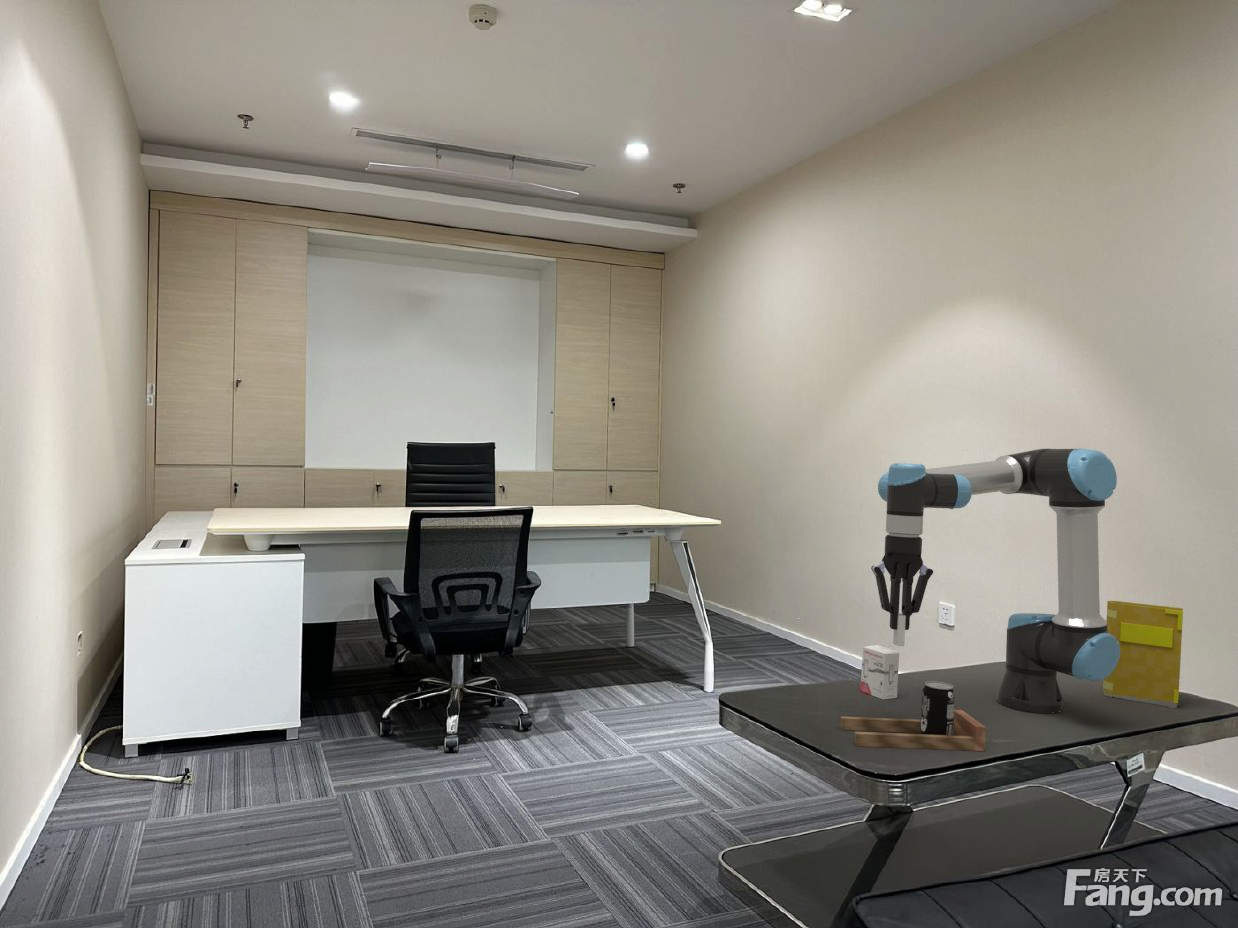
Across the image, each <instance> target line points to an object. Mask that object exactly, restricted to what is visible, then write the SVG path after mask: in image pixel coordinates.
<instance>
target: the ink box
mask: <svg viewBox="0 0 1238 928" xmlns="http://www.w3.org/2000/svg"><path fill="white" fill-rule="evenodd" d="M861 657H862V660H861V674H860V692H863V693H864V694H867V695H870V696H872V697H875V698H878V699H881V700H891V699H897V697H898V683H899V682H898V681H899V667H900V666H899V664H900V661H899V660H900V652H899V651H897V650H895V649H891V648H889V647H885V646H882V645H878V644H874V645H868V646H867V645H866V646H863V647H862V656H861Z"/></svg>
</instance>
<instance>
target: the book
mask: <svg viewBox="0 0 1238 928" xmlns="http://www.w3.org/2000/svg"><path fill="white" fill-rule="evenodd" d="M1183 619H1184V610H1183V607H1175V606H1165V605H1155V604H1148V603H1146V604H1145V603H1137V602H1129V601H1122V600H1121V601H1120V600H1119V601H1118V600H1107V605H1106V621H1107V630H1108V633H1109V634H1111V635H1112V636H1114V637H1115V638H1116V641H1118V643H1119V646H1120V657H1119V661H1118V663H1117V666H1116V667H1115V669H1114V670H1113V671H1112V673H1111V674H1110V675H1109V676H1108V677H1106V678H1105V679H1103V680H1102V681H1103V683H1102V692H1103V691H1104V692H1105V693H1109V694H1112V695H1119V696H1131V697H1137V698H1143V699H1151V700H1161V701H1166V702H1174V703H1178V704H1179V696H1180V695H1179V693H1180V677H1181V676H1180V675H1181V673H1180V672H1181V661H1182V658H1181V657H1182V656H1181V654H1182V638H1183Z"/></svg>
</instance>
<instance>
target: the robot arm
mask: <svg viewBox="0 0 1238 928" xmlns="http://www.w3.org/2000/svg"><path fill="white" fill-rule="evenodd" d="M1117 477H1118V476H1117V471H1116V467H1115V465H1114V464H1113V462H1112V461H1111V459H1110V458H1108V456H1107V455H1106V454H1105V453H1103V452H1101V451H1099V450H1096V449H1088V448H1081V447H1080V448H1079V447H1078V448H1040V449H1033V450H1028V451H1022V452H1018V453H1012V454H1006V455H1005V454H1004V455H1000V456H998V457H997V458H996V459H995V460H991V461H983V462H974V463H966V464H958V465H948V466H942V467H940V466H939V467H934V468H933V467H932V468H926V466H925V465H924V464H922V463H906V462H904V463H902V462H893V463H892V464H890V465H889V468H888V472H885V473H884V474H882V476H881V477H880V478H879V481H878V482H877V483H878V484H877V489H878V495H879V497H880V498H881V499H882V500H883V501H884V502H886V516H885V517H886V519H885V532H886V533H887V534H886V535H885V538H884V555H883V558H882V560H881V562H879V563H878V564H877V565H872V566H871V568H870V569H871V571H872V573H873V574H874V576H875V580H876V586H877V591H878V595H879V602H880V608H881V609H882V610H884V611H885V612H886V613H887V612H888V613H889V628H890V629H891V630H893V636H892V638H893V639H892V640H893V641H892V644H894V645H895V646H897V647H905V637H906V631H909V630H910V623H911V621H910V620H911V616H913V614H916V613H919V612H920V610H921V606H922V603H923V598H924V595H925V592H926V589H927V585H928V582H929V580H930V578H931V577H932V575H933V574H934V570H933V569H931V568H929V567H927V566H926V565H925V564H924V561H923V559H922V550H923V548H922V546H923V539H922V537H921V535H923V529H924V528H923V527H924V511H925V510H924V509H927V508H929V509H948V510H949V509H950V510H953V509H962V508H965V507H966V506H967V505H968V504H969V502H970V501H971V498H972V496H974V495H982V494H990V493H997V492H998V493H999V492H1000V493H1001V494H1005V495H1014V494H1024V495H1034V496H1040V497H1048V506H1049V508H1050V509H1052V510H1053V511H1054V512H1055V514H1056V551H1057V555H1056V556H1057V591H1058V592H1057V593H1058V595H1057V596H1058V599H1057V601H1058V613H1056V614H1054V613H1053V614H1052V613H1037V612H1036V613H1034V612H1033V613H1032V612H1031V613H1030V612H1029V613H1021V612H1020V613H1013V614H1011V615H1010V616H1009V618H1008V620H1007V628H1006V645H1005V649H1006V650H1005V651H1006V652H1005V653H1006V654H1005V670H1004V674H1003V676H1002V679H1001V680H1000V683H999V685H998V688H997V691H996V701H997V703H999V704H1000V705H1002V706H1006V707H1008V708H1011V709H1014V710H1018V711H1024V712H1029V713H1036V714H1037V713H1038V714H1053V713H1052V712H1058V713H1060V712H1059V711H1061V712H1063V711H1062V710H1064V700H1063V696H1062V693H1061V688H1060V686H1059V682H1058V677H1057V675H1058V673H1061V674H1065V675H1068V676H1071V677H1073V678H1076V679H1077V680H1085V681H1090V682H1100V681H1103V679H1105V678H1106V677H1108V676H1109V675H1110V674H1111V673H1112V671H1113V670H1114V669H1115V667H1116V666H1117V663H1118V661H1119V657H1120V646H1119V643H1118V641H1116V638H1115V637H1114V636H1112V635H1111V634H1109V633H1108V630H1107V619H1105V618H1104V617H1102V616H1101V614H1100V612H1101V611H1100V608H1101V607H1100V566H1099V565H1100V563H1099V561H1100V560H1099V559H1100V558H1099V521H1098V520H1099V516H1098V515H1099V513H1100V512H1101V511H1102V510H1103V509H1104V508H1105V507H1106V500H1107V499H1109V498H1110V497H1111V496H1112V495H1113V494H1114V490H1115V489H1116V488H1117V484H1118V483H1117V481H1118V478H1117ZM885 569H886V571H885ZM886 572H887V573H888V574H889V576H890V578H889V581H890V591H889V592H890V594H889V592H888V588H887V583H886V582H887V581H886V578H885V575H884V574H885V573H886ZM916 574H919V576H918V577H917V582H916V584H915V589H914V592H913V583H914V577H915V576H916ZM901 583H902V585H901ZM901 586H902V588H901ZM901 589H902V590H901ZM901 591H902V592H901ZM912 593H913V594H912ZM900 594H901V595H900ZM900 597H901V599H900ZM900 600H901V609H900ZM900 610H901V613H900ZM1057 672H1058V673H1057Z"/></svg>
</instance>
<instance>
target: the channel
mask: <svg viewBox="0 0 1238 928" xmlns="http://www.w3.org/2000/svg"><path fill="white" fill-rule="evenodd" d="M839 728H840V730H841V731H853V745H854V746H855V747H871V748H872V747H875V748H876V747H877V748H895V749H896V748H899V749H920V750H921V749H922V750H923V749H924V750H925V749H926V750H946V751H947V750H948V751H949V750H951V751H969V752H970V751H971V752H972V751H974V752H985V749H986V731H987V729H986V728H987V727H986V726H985V725H983V724H982V723H980V722H979V721H978V720H976V719H975V718H974V717H972V716H971V715H970V714H969V713H966V712H965V711H964V710H962V709H955V710H954V730H953V736H950V735H925V734H921V719H915V718H914V719H912V718H889V717H888V718H887V717H867V716H866V717H865V716H840V717H839Z"/></svg>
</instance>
